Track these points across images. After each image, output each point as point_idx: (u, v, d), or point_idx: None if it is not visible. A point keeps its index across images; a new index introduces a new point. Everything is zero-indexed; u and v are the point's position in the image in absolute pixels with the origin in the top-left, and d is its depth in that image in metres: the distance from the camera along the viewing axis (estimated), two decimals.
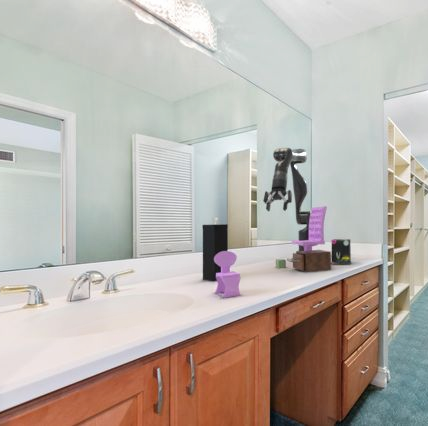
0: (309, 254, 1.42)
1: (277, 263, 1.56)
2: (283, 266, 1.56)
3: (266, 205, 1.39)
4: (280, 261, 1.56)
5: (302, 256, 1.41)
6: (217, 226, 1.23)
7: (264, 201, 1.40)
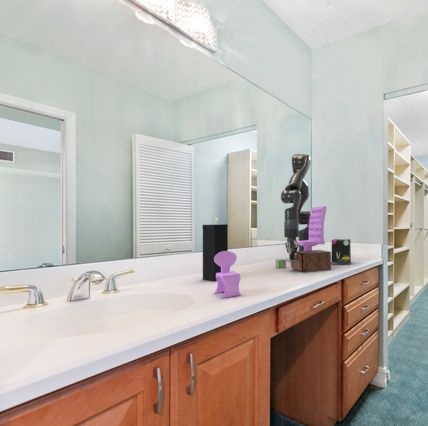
0: (309, 254, 1.42)
1: (277, 263, 1.56)
2: (283, 266, 1.56)
3: None
4: (280, 261, 1.56)
5: (300, 256, 1.41)
6: (217, 226, 1.23)
7: (287, 252, 1.46)
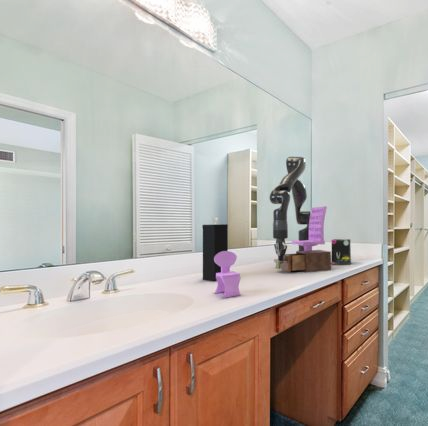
0: (309, 254, 1.42)
1: (277, 263, 1.56)
2: None
3: (278, 257, 1.43)
4: None
5: (289, 257, 1.38)
6: (217, 226, 1.23)
7: (276, 253, 1.43)
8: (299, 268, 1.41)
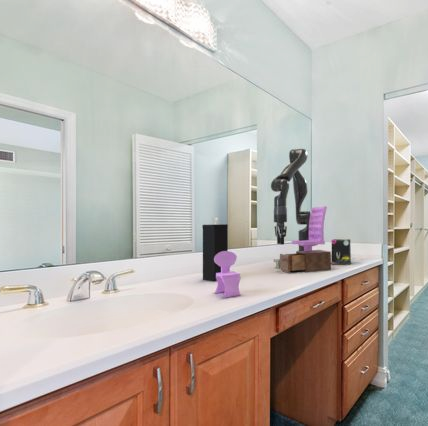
0: (309, 254, 1.42)
1: (277, 263, 1.56)
2: None
3: (277, 239, 1.61)
4: None
5: (288, 257, 1.38)
6: (217, 226, 1.23)
7: (275, 235, 1.62)
8: (299, 268, 1.41)
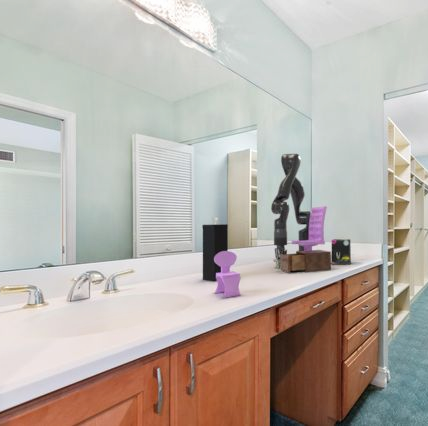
0: (309, 254, 1.42)
1: (277, 263, 1.56)
2: None
3: None
4: None
5: (288, 257, 1.38)
6: (217, 226, 1.23)
7: None
8: (299, 268, 1.41)
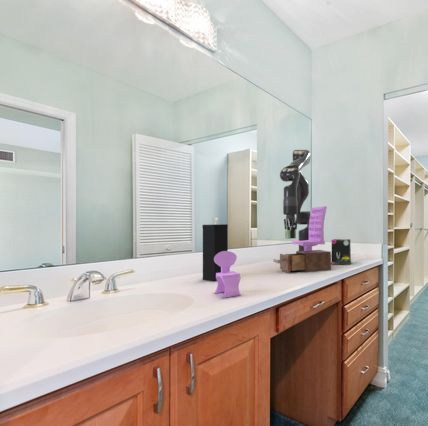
0: (309, 254, 1.42)
1: (287, 233, 1.46)
2: None
3: None
4: None
5: (288, 257, 1.38)
6: (217, 226, 1.23)
7: (285, 229, 1.51)
8: (299, 268, 1.41)
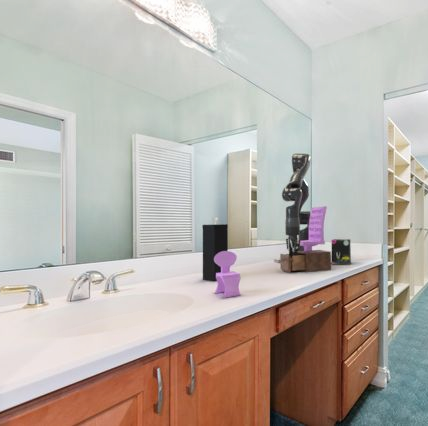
0: (309, 254, 1.42)
1: None
2: None
3: (289, 253, 1.48)
4: None
5: (289, 257, 1.38)
6: (217, 226, 1.23)
7: (287, 249, 1.49)
8: (299, 268, 1.41)
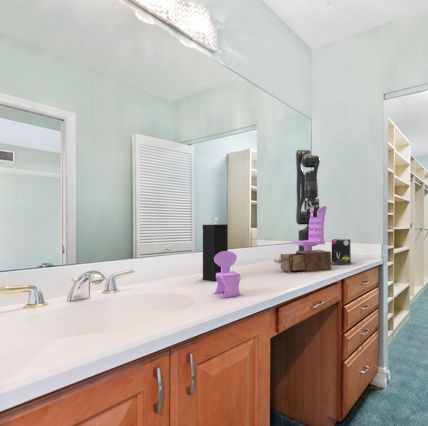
0: (309, 254, 1.42)
1: None
2: None
3: None
4: None
5: (289, 257, 1.38)
6: (217, 226, 1.23)
7: None
8: (299, 268, 1.41)
